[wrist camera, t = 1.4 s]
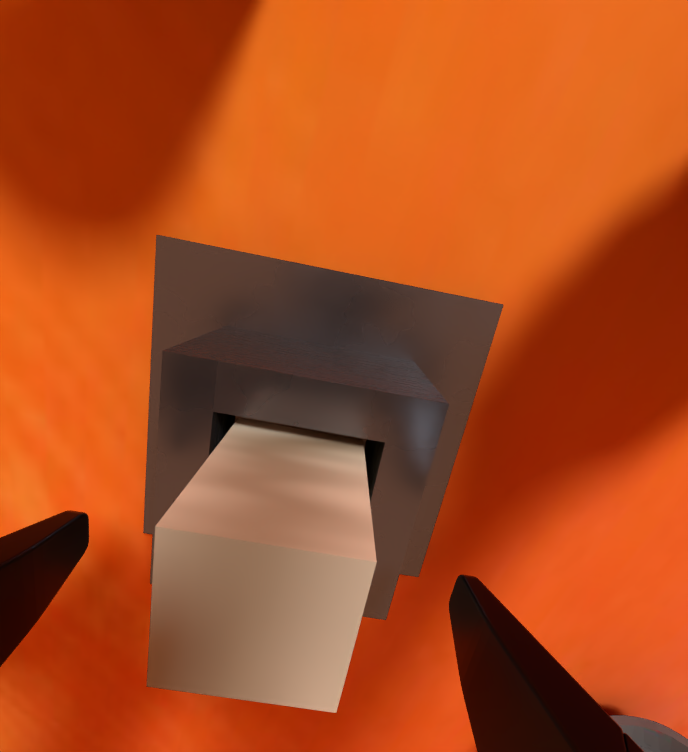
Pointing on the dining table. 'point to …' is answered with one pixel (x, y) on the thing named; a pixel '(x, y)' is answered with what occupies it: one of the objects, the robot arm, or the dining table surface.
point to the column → (264, 569)
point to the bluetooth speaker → (651, 734)
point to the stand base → (314, 380)
